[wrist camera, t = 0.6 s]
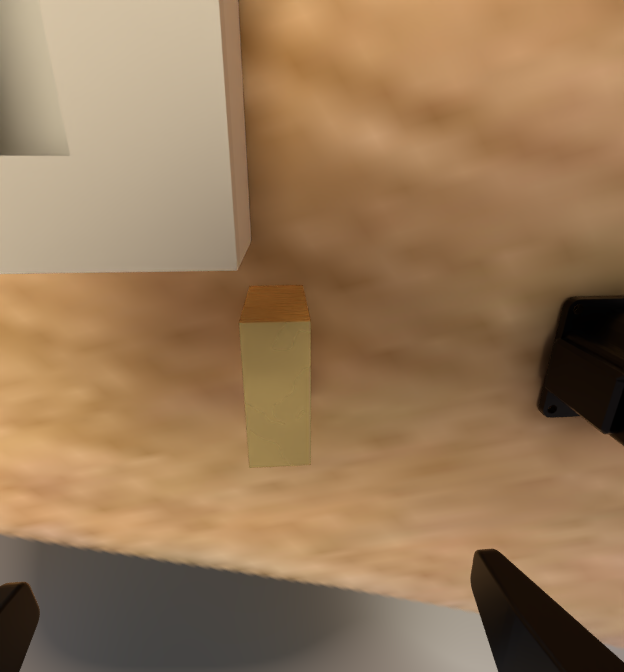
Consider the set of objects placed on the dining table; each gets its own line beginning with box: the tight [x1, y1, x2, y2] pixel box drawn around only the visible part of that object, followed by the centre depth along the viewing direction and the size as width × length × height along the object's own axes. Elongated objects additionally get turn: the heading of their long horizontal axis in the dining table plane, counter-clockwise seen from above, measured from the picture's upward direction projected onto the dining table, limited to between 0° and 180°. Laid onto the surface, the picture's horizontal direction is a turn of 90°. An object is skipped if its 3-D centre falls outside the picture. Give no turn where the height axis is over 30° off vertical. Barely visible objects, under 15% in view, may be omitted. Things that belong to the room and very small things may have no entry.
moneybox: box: [0, 0, 251, 274], centre depth 11 cm, size 12×14×6 cm
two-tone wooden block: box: [239, 285, 311, 468], centre depth 17 cm, size 2×6×5 cm, turn 0°
